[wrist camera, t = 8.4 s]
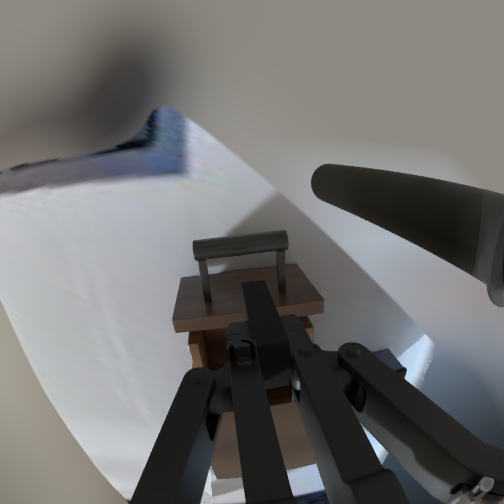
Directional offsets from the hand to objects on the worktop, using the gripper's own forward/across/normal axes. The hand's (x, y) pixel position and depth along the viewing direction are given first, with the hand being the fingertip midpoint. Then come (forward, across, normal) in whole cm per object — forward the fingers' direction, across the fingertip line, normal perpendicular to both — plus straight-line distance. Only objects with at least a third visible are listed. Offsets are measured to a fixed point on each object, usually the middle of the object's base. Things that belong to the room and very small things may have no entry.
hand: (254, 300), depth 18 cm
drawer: (+10, 0, -6) cm, 12 cm away
